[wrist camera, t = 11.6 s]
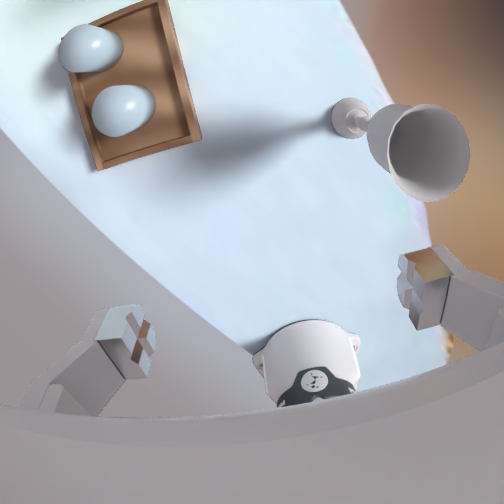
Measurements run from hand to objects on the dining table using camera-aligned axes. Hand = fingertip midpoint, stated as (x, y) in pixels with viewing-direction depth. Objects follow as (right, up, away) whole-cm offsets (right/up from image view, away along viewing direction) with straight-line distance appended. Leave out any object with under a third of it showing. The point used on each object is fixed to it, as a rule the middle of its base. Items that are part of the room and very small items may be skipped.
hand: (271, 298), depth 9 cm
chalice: (+11, +17, +24) cm, 32 cm away
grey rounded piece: (-14, +18, +22) cm, 31 cm away
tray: (-14, +21, +21) cm, 33 cm away
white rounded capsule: (-17, +24, +18) cm, 35 cm away
